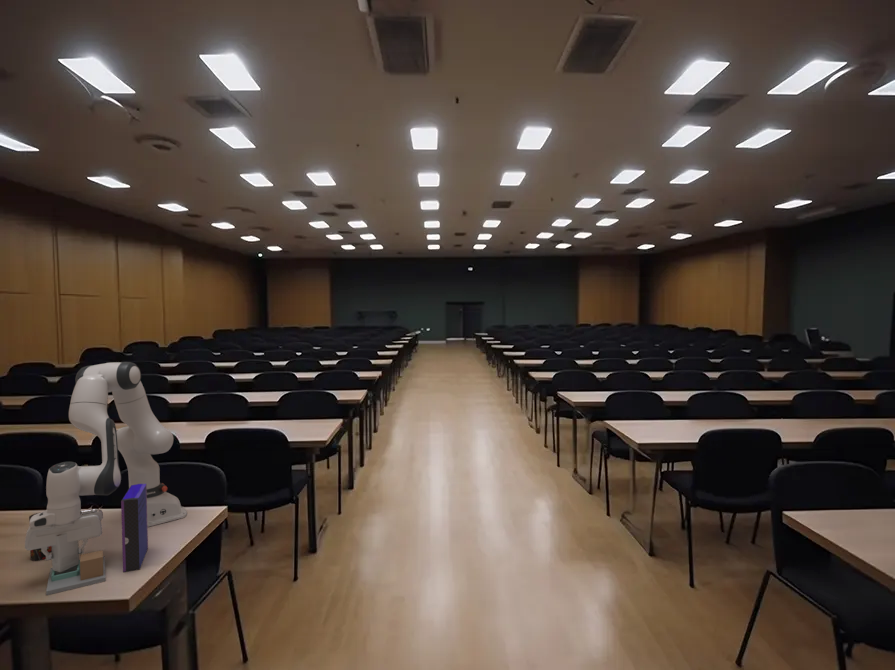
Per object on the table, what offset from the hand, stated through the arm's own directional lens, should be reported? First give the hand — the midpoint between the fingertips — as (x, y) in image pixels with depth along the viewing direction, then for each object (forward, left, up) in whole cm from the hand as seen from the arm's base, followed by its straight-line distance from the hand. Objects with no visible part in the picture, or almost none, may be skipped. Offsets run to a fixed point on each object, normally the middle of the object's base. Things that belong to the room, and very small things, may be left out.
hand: (65, 556), depth 169 cm
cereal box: (-20, -1, -7) cm, 21 cm away
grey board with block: (-3, +2, -7) cm, 8 cm away
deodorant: (+8, -22, -7) cm, 24 cm away
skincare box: (0, 0, -4) cm, 4 cm away
